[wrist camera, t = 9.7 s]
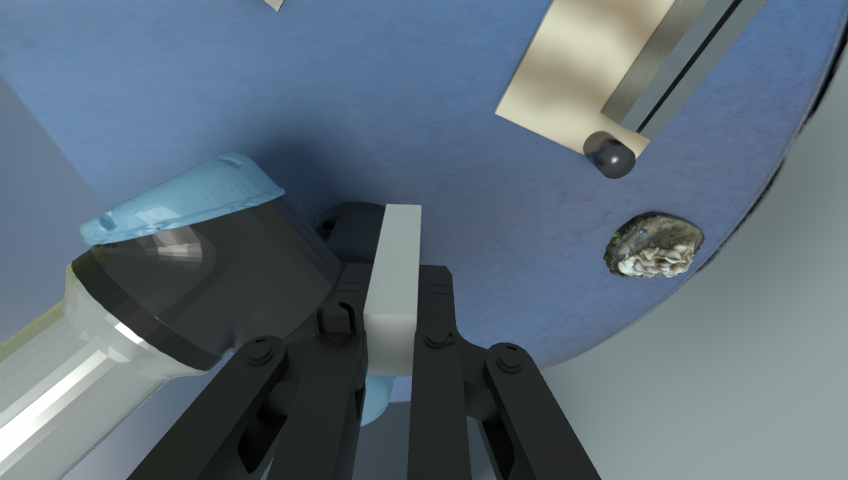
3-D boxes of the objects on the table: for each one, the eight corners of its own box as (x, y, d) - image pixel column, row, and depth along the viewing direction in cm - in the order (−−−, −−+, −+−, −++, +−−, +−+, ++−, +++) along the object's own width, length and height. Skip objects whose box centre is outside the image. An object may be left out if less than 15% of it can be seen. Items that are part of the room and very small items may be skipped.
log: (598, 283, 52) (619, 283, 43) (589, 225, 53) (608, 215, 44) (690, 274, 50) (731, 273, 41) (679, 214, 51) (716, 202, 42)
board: (621, 170, 42) (624, 173, 41) (493, 111, 38) (494, 113, 38) (809, -68, 30) (818, -70, 29) (648, -185, 26) (653, -189, 26)
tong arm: (615, 119, 38) (636, 133, 34) (599, 112, 37) (618, 124, 33) (767, -97, 28) (820, -112, 24) (748, -110, 28) (798, -127, 24)
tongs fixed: (605, 165, 41) (625, 185, 36) (577, 152, 40) (594, 171, 36) (789, -79, 29) (851, -93, 25) (754, -104, 28) (812, -123, 24)
